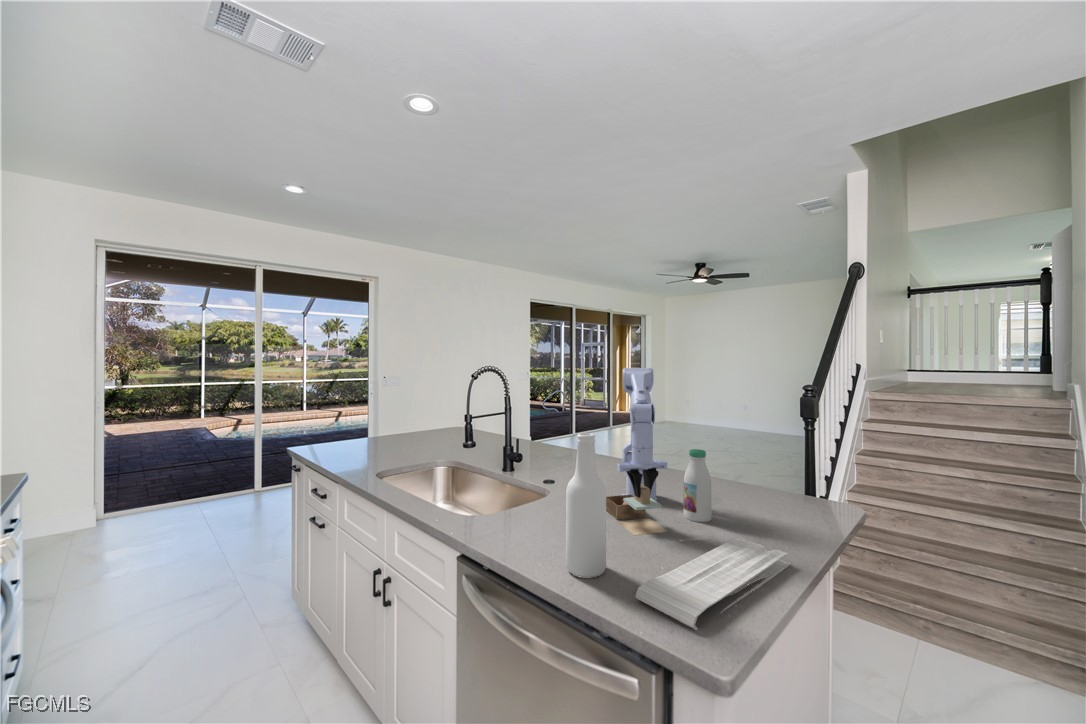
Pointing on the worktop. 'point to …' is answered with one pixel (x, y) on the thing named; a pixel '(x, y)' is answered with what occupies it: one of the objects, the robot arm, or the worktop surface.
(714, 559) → the hand towel
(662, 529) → the mat
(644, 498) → the lid
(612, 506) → the box
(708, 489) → the milk bottle
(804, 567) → the worktop surface
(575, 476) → the alcohol
